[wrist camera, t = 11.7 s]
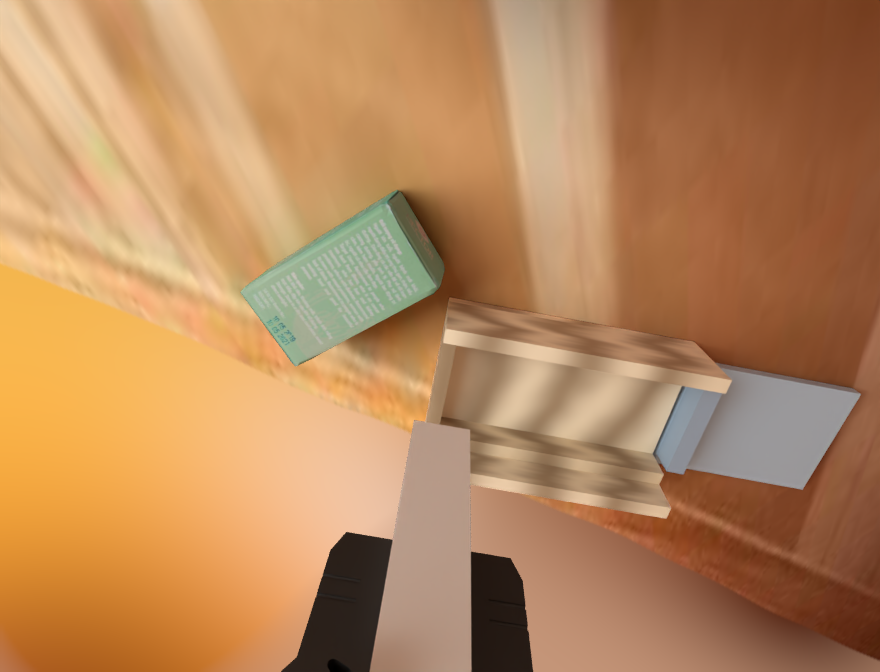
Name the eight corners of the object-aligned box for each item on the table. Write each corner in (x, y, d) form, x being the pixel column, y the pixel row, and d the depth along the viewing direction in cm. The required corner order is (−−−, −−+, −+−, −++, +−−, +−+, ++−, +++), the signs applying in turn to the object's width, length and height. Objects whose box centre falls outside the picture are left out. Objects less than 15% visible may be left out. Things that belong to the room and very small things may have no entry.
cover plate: (648, 452, 50) (662, 479, 46) (690, 355, 45) (709, 377, 42) (793, 479, 50) (818, 508, 47) (849, 385, 46) (882, 409, 42)
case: (423, 428, 50) (417, 475, 43) (449, 297, 44) (446, 328, 37) (641, 466, 50) (666, 518, 44) (694, 341, 44) (732, 380, 38)
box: (448, 262, 43) (443, 290, 36) (321, 333, 46) (294, 371, 39) (402, 184, 40) (388, 198, 33) (272, 265, 44) (234, 293, 37)
